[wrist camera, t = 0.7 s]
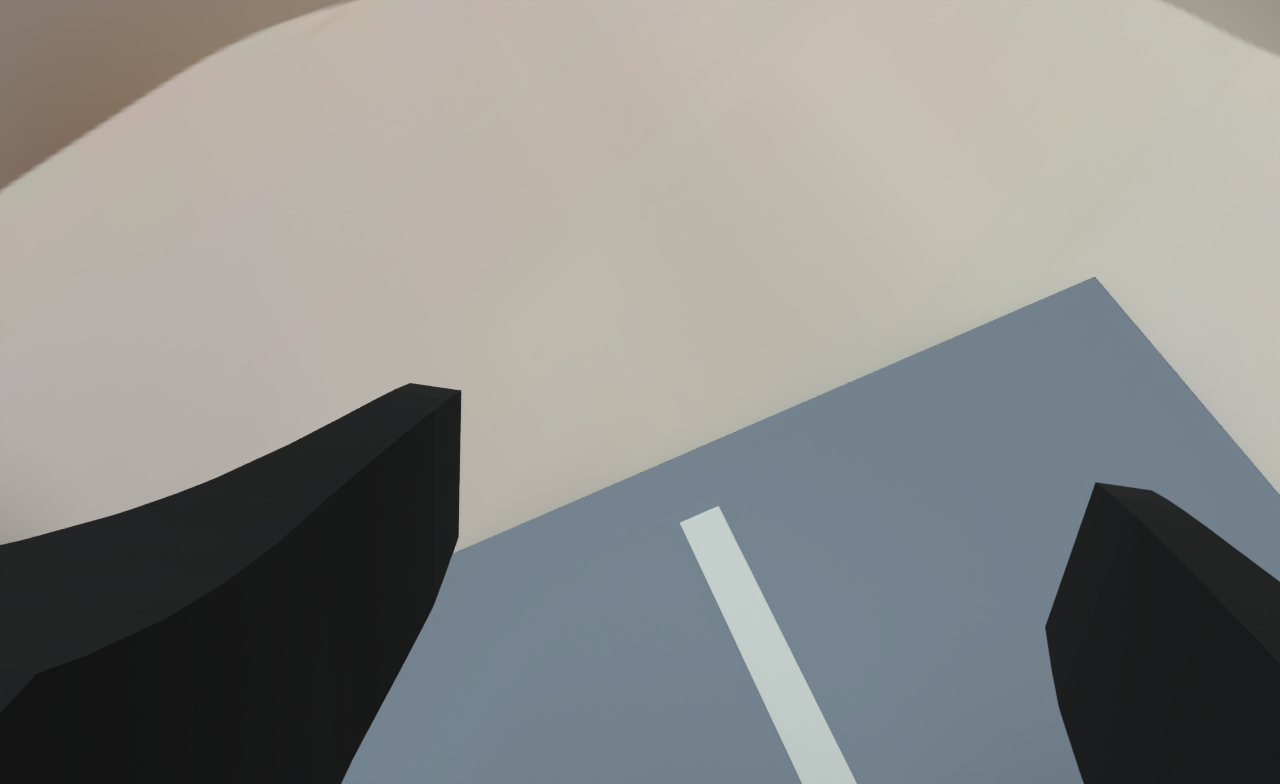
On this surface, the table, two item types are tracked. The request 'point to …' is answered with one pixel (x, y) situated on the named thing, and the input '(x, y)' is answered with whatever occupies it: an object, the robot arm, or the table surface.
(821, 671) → the board
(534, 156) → the table surface
